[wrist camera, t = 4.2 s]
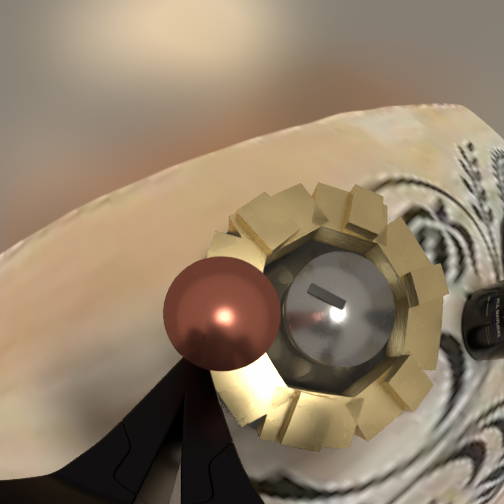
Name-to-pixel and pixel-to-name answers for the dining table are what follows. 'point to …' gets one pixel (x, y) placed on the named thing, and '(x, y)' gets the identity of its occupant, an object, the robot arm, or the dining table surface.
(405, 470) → the dining table surface
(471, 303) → the supplement bottle
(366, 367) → the flange
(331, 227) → the handwheel
